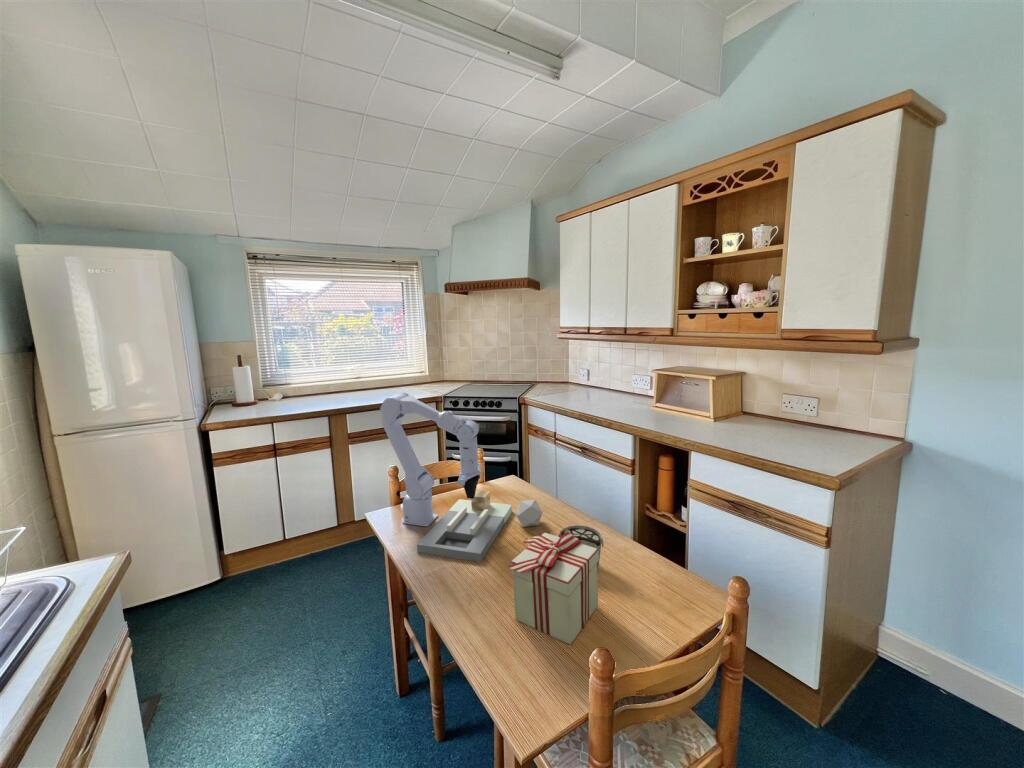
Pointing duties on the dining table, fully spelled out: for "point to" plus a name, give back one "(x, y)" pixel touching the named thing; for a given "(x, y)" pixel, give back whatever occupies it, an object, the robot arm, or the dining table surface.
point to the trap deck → (465, 531)
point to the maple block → (481, 500)
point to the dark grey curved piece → (585, 536)
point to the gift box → (555, 585)
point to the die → (529, 513)
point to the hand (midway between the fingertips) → (470, 497)
